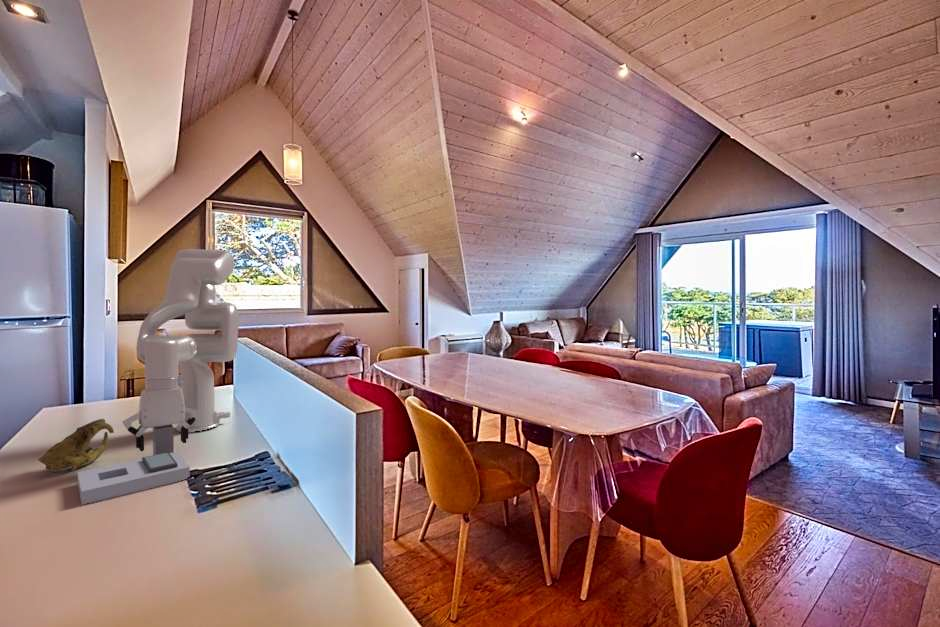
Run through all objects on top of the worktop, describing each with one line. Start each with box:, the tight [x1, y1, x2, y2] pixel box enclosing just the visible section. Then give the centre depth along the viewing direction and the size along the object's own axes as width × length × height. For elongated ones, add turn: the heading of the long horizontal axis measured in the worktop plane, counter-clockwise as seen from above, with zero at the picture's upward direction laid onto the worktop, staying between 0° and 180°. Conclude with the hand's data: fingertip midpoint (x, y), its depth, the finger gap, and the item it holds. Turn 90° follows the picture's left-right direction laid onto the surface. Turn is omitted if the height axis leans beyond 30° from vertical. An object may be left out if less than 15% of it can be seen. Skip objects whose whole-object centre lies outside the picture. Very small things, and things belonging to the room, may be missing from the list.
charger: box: [152, 424, 175, 455], centre depth 121 cm, size 4×4×9 cm
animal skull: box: [38, 418, 115, 472], centre depth 116 cm, size 9×16×10 cm, turn 163°
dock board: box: [76, 451, 191, 506], centre depth 107 cm, size 20×14×4 cm
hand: (163, 445), depth 121 cm, fingers open, 9 cm apart
